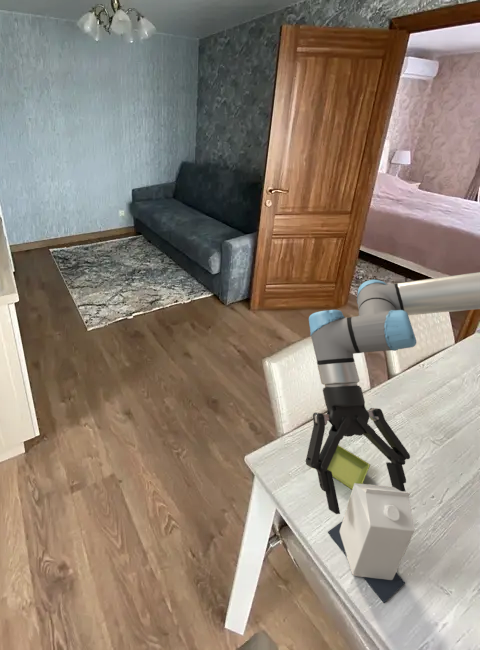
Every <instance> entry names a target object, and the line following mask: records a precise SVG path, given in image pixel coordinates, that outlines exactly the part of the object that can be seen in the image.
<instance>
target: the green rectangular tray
mask: <svg viewBox="0 0 480 650" xmlns="http://www.w3.org/2000/svg"><path fill="white" fill-rule="evenodd" d="M370 466H371V464H370V463H368V462H367V461H365V460H363V459H362V458H360V457H358V456H357V455H356V454H354V453H352V452H350V451H348V449H345V448H344V447H342V446H341V445H340V444H338V447H337V449H336V451H335V453H334V455H333V457H332V460H331V462H330V464H329V466H328V468H327V470H329V471H331V472H332V476H333V479H335V480H337V481H338V482H340V483H341V484H343V485H344V486H345V487H347V488H349V489H350V490H352V489H353V486H354V483H358V484H364V481H365V479H366V477H367V474H368V473H369V470H370Z"/></svg>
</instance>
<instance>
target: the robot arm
mask: <svg viewBox="0 0 480 650" xmlns="http://www.w3.org/2000/svg"><path fill="white" fill-rule="evenodd" d="M356 303H357V309H358V315H356V316H350V317H349V316H348V317H345V315H344V313H343V312H342V310H338V309H329V310H328V309H327V310H320V311H315V312H313V313H311V314H310V315H309V316H308V325H309V331H310V334H309V336H310V337H311V342H312V346H313V350H314V354H315V360H316V364H317V369H318V375H319V379H320V384H321V385H324V387H323V388H322V393H323V398H324V403H325V406H326V413H321V412H314V413H313V414H312V422H313V425H312V426H313V427H312V431H311V436H310V440H309V445H308V449H307V454H306V459H305V464H306V466H307V467H309V468H312V469H313V470H316V472H317V478H318V482H319V487H320V489H321V491H323V492H325V495H326V502H327V507H328V510H329V511H331V512H332V513H334V514H335V515H340V514H341V511H340V507H339V501H338V497H337V491H336V486H335V481H334V477H333V476H332V472H331V471H329V470H327V468H328V466H329V464H330V462H331V460H332V457H333V455H334V453H335V451H336V449H337V447H338V445H340V442H341V441H342V440H343V438H344V437H347V438H348V437H353V436H364V437H365V438H366V439H368V441H369V442H370V443H371V444H372V445H373V446H375V447H376V448H377V450H379V451H380V452H381V453H382V454H383V456H385V457H386V459H388V460H389V462H385V465H386V468H387V473H388V476H389V480H390V483H391V484H390V485H391V487H395V488H396V489H398V490H400V491H405V492H407V491H406V487H405V484H406V483H407V477H406V474H405V470H404V467H403V466H404V465H406V460H410V458H411V454H410V453H409V452H408V450H407V448H406V447H405V446H404V444H403V443H402V441H400V439H399V437H398V436H397V435H396V433H395V431H393V428H391V426H390V425H389V424H388V422H387V420H386V419H385V415H384V413H383V410H382V409H381V408H377V407H371V408H369V409H367V408H366V401H365V397H364V393H363V389H362V386H360V385H358V383H360V382H361V381H360V380H361V379H360V377H359V372H358V370H357V365H356V361H355V357H354V355H355V354H362V353H363V354H364V353H374V352H375V353H376V352H388V351H390V352H391V351H392V352H393V351H396V352H397V351H398V350H403V349H411V348H413V347H415V346H416V345H417V339H416V335H415V333H414V329H413V325H412V323H411V320H410V316H416V315H429V314H439V313H440V314H441V313H450V312H461V311H470V310H471V311H472V310H480V271H478V272H470V273H463V274H456V275H448V276H441V277H435V278H426V279H425V278H424V279H419V280H412V281H411V280H410V281H405V282H397V283H390V284H387V283H386V282H385V281H383V280H379V279H369V280H366V281H364V282H363V283H361V284H360V285H359V287H358V288H357V295H356ZM369 420H371V421H372V422H373V423H374V425H375V427H376V428H377V429H378V431H379V432H380V433H381V436H383V438H384V439H382V437H380V436H379V434H377V432H376V430H375V429H374V428H373V427H372V426H370V425H369ZM328 422H329V423H330V424H331V426H330V429H329V431H328V436H327V438H326V440H325V442H324V441H323V440H324V435H325V431H326V425H327V424H328ZM323 442H324V444H323ZM322 445H323V446H322Z"/></svg>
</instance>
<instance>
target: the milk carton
mask: <svg viewBox="0 0 480 650" xmlns="http://www.w3.org/2000/svg"><path fill="white" fill-rule="evenodd" d="M405 491H406V490H405ZM405 491H400V490H398V489H396V488H395V487H392V486H388V485H380V484H379V485H378V484H368V483H363V484H358V483H354V486H353V489H351V494H350V496H349V499H348V502H347V506H346V509H345V512H344V514H343V519H342V521H341V522H342V525H341V528H340V531H339V532H340V535H341V539H342V542H343V545H344V548H345V552H346V555H347V556H346V555H345V556H346V558H347V562H348V565H349V568H350V571H351V575H352V576H353V577H354V576H355V577H361V578H364V577H369V578H377V579H386V580H393V578H394V576H395V574H396V572H398V569H399V567H400V564H401V562H402V560H403V557H404V556H405V553H406V552H407V549H408V546H409V545H410V542H411V540H412V538H413V536H414V534H415V531H416V527H415V523H414V517H413V512H412V506H411V501H410V496H411V492H410V491H406V492H405Z"/></svg>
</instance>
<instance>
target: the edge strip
mask: <svg viewBox="0 0 480 650" xmlns="http://www.w3.org/2000/svg"><path fill="white" fill-rule="evenodd" d="M341 525H342V521H340V522H339V523H338V524H336V525H335V526H333V527H332V528H331V529H329V530H328V531H327V533H328V535H329V536H330V538H332V540H333V541H334V543H336V545H337V546H338V547H339V548H340V550H341V551H342V552H343V554H344V555H345V557H347V555H346V552H345V548H344V545H343V542H342V539H341V535H340V532H339V531H340V528H341ZM363 579H364V580H365V582H366V583H367V585H368V586H370V588H371V589H372V590H373V591H374V593H375V594H376V595H377V597H378V598H379V599H380V600H381V602H382V603H383V604H385V603H386V602H387V601H388V600H389V599H390V598H391V597H393V596H394V595H395V594H396V593H397V592H398V591H399V590H400V589H401V588H402V587H404V585H405V584H406V582H405V580H404V579H403V578H402V577H401V576H400V575H399V573H398V571H396V574H395V576H394V578H393V580H386V579H377V578H369V577H363Z"/></svg>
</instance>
